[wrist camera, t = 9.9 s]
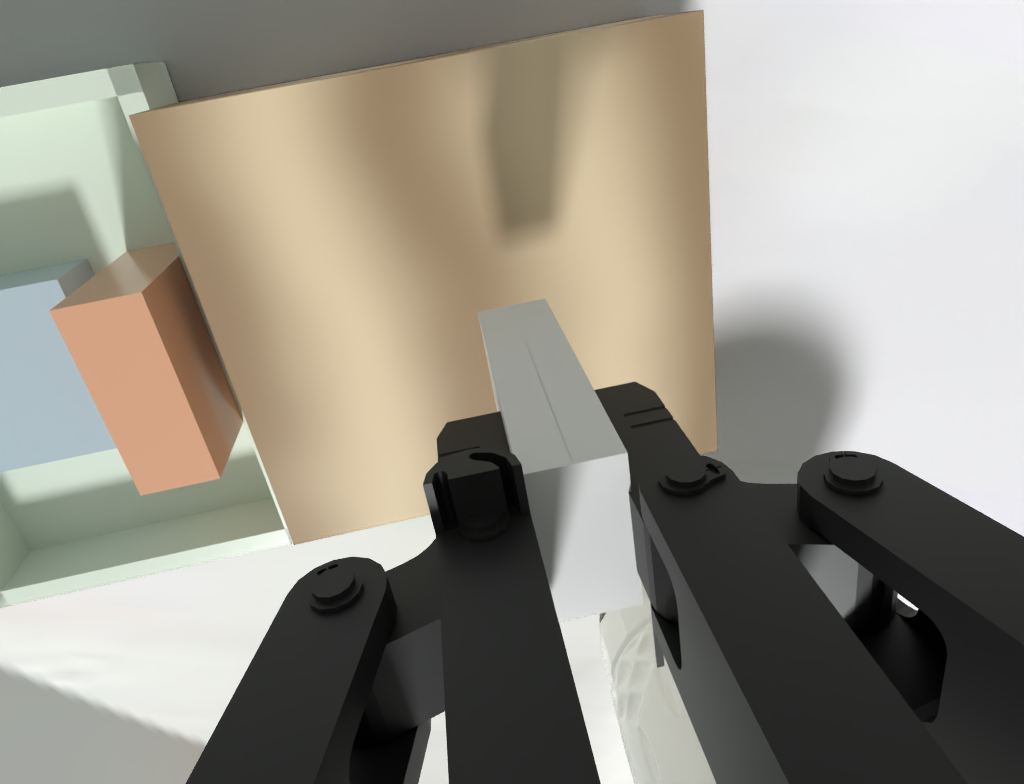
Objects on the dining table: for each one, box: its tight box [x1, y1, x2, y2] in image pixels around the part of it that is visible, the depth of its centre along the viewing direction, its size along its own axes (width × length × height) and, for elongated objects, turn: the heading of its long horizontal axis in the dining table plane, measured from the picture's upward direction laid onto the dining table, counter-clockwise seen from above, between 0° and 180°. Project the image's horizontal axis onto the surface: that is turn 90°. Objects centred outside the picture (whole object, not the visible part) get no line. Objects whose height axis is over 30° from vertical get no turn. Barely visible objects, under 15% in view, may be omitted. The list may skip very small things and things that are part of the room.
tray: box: [0, 61, 293, 608], centre depth 20 cm, size 10×14×2 cm
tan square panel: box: [129, 10, 717, 545], centre depth 20 cm, size 13×12×4 cm
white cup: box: [600, 581, 716, 784], centre depth 26 cm, size 8×8×10 cm
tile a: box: [49, 242, 243, 496], centre depth 19 cm, size 5×5×2 cm
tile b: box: [0, 258, 117, 472], centre depth 20 cm, size 5×5×2 cm
